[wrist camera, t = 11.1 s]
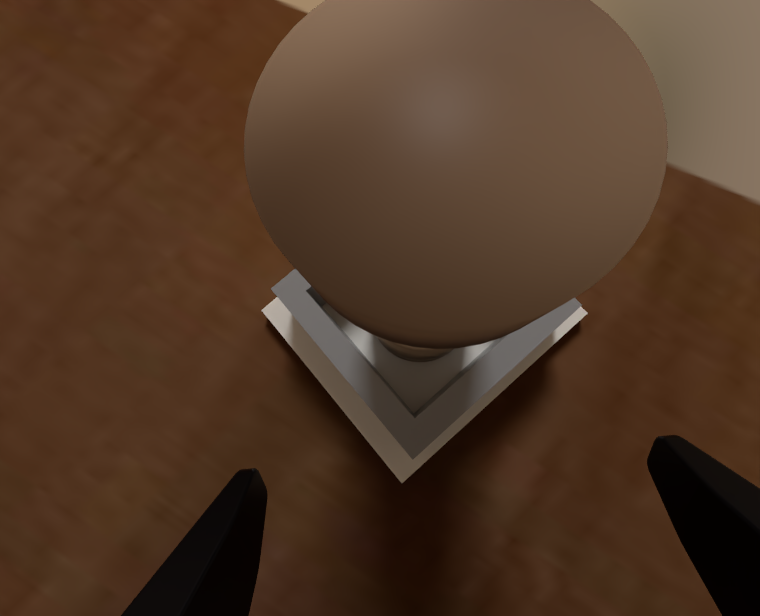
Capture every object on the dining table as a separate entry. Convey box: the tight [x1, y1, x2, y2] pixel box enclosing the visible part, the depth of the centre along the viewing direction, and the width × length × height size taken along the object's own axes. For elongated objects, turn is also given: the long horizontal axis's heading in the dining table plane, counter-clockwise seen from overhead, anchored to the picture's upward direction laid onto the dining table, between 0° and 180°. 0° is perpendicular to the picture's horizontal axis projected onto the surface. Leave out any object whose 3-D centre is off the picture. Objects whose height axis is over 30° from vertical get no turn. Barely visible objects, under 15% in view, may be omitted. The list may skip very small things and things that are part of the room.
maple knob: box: [244, 0, 668, 362], centre depth 12 cm, size 6×6×13 cm
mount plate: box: [262, 269, 587, 483], centre depth 17 cm, size 10×11×4 cm
